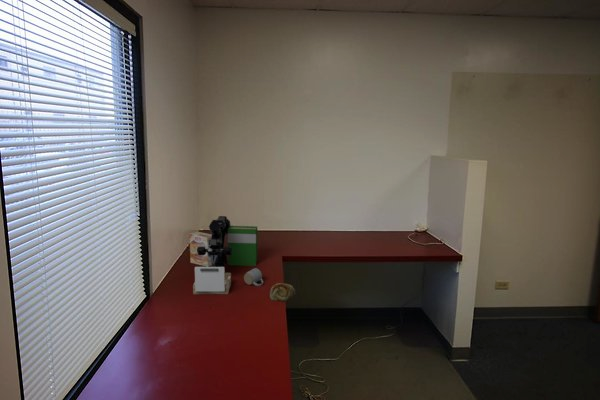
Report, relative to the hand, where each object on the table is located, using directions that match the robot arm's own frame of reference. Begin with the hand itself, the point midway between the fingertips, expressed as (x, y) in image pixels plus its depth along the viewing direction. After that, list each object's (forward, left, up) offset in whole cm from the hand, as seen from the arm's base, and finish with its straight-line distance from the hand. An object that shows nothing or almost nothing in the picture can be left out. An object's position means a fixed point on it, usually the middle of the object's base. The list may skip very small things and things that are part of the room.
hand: (213, 265), depth 198 cm
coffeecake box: (-37, +10, -13) cm, 40 cm away
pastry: (+31, +24, -13) cm, 42 cm away
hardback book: (-22, +31, -13) cm, 40 cm away
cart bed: (+2, -1, -13) cm, 13 cm away
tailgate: (+9, -6, -11) cm, 15 cm away
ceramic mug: (+9, +21, -13) cm, 26 cm away
